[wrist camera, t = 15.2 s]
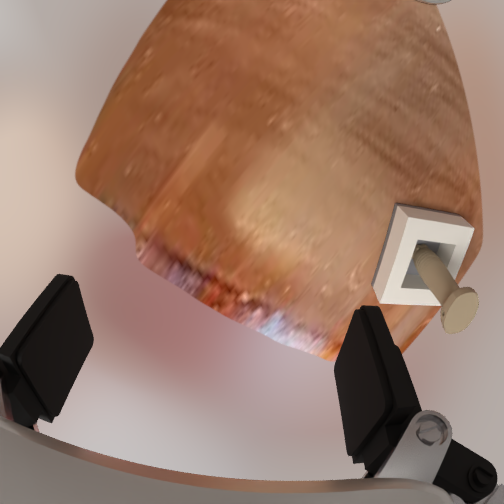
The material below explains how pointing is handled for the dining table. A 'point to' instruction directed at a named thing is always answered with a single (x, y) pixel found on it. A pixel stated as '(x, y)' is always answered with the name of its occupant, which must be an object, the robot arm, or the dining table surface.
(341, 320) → the dining table surface
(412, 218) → the socket stand
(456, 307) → the handle
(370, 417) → the robot arm
